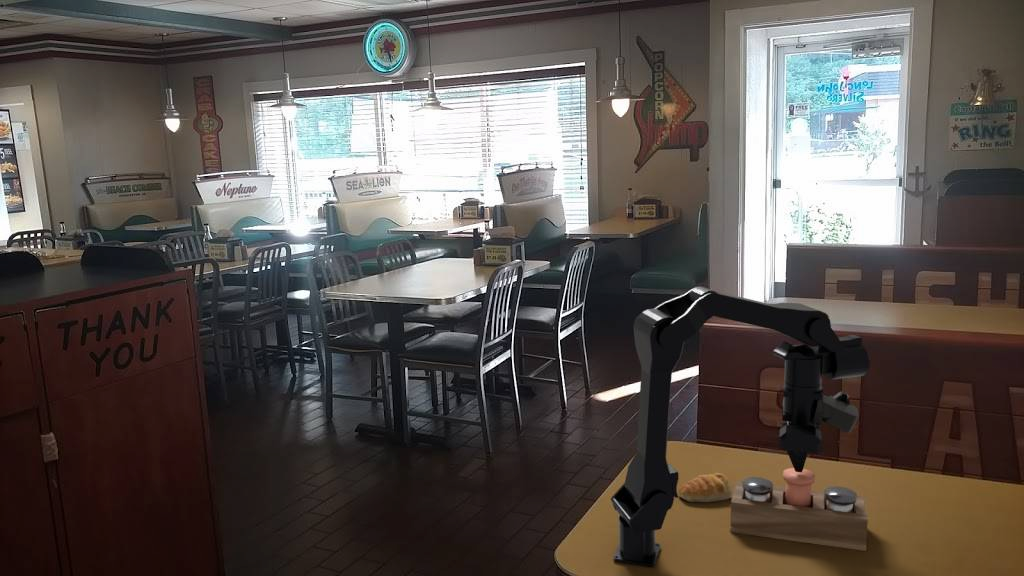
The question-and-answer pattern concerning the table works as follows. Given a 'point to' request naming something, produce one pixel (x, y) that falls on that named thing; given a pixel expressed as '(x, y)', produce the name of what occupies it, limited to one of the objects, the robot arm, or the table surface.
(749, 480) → the plunger
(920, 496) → the table surface
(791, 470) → the pink stopper
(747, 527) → the brown wooden rack
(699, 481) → the pastry
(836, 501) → the plunger
